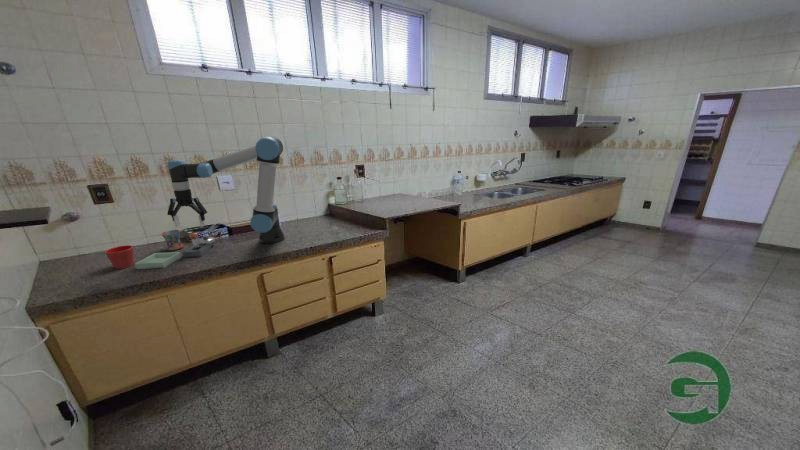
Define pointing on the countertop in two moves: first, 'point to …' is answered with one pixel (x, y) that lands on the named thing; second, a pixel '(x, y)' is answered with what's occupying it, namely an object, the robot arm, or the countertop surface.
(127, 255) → the flower pot
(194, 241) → the orange capped clear bottle
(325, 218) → the countertop surface
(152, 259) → the tray
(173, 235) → the mug
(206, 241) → the tensioner block
